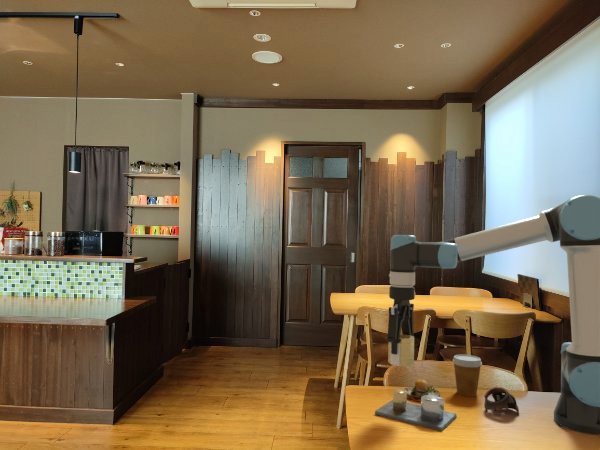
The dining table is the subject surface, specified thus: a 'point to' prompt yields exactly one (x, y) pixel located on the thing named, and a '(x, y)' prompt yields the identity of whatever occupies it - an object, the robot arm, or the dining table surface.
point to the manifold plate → (417, 411)
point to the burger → (420, 390)
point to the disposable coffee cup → (467, 374)
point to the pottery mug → (500, 400)
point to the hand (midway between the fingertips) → (400, 362)
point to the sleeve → (404, 350)
